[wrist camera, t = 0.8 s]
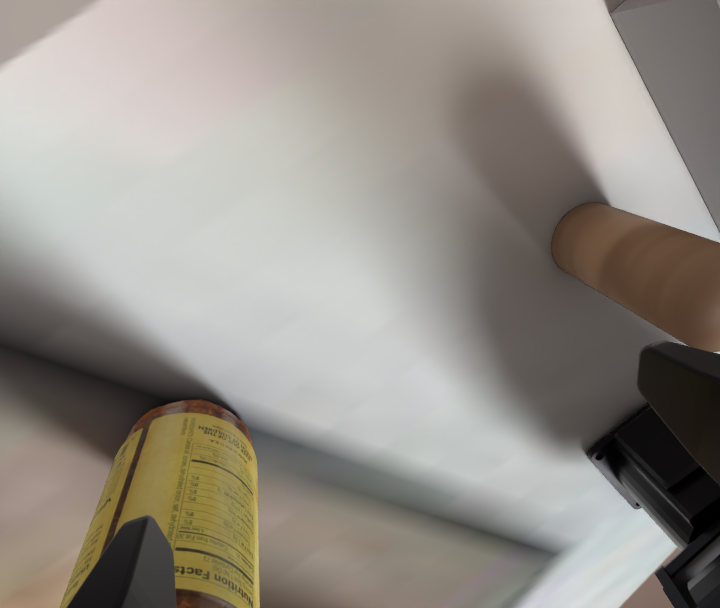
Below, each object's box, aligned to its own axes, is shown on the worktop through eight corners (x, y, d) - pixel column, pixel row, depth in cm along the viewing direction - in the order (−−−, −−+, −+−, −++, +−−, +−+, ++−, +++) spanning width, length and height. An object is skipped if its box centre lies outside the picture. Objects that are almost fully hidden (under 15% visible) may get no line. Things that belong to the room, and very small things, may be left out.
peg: (631, 239, 24) (790, 304, 17) (573, 287, 24) (703, 370, 17) (598, 186, 22) (756, 231, 15) (537, 238, 23) (662, 306, 16)
